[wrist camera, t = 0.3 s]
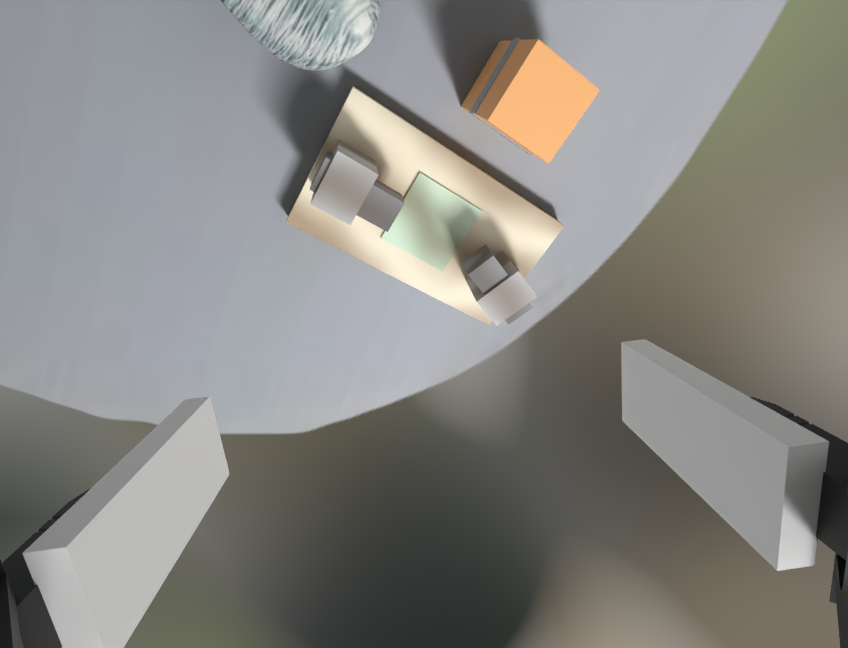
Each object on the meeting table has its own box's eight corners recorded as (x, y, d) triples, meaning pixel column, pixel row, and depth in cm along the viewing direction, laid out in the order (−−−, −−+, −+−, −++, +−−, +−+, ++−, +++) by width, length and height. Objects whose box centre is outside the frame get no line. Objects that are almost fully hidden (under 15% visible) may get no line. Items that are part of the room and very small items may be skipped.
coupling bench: (352, 85, 34) (353, 92, 29) (557, 220, 41) (586, 244, 36) (288, 216, 38) (278, 242, 33) (485, 317, 45) (502, 351, 40)
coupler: (499, 38, 34) (538, 36, 27) (553, 81, 35) (602, 89, 29) (458, 106, 35) (485, 120, 29) (512, 144, 37) (548, 165, 31)
